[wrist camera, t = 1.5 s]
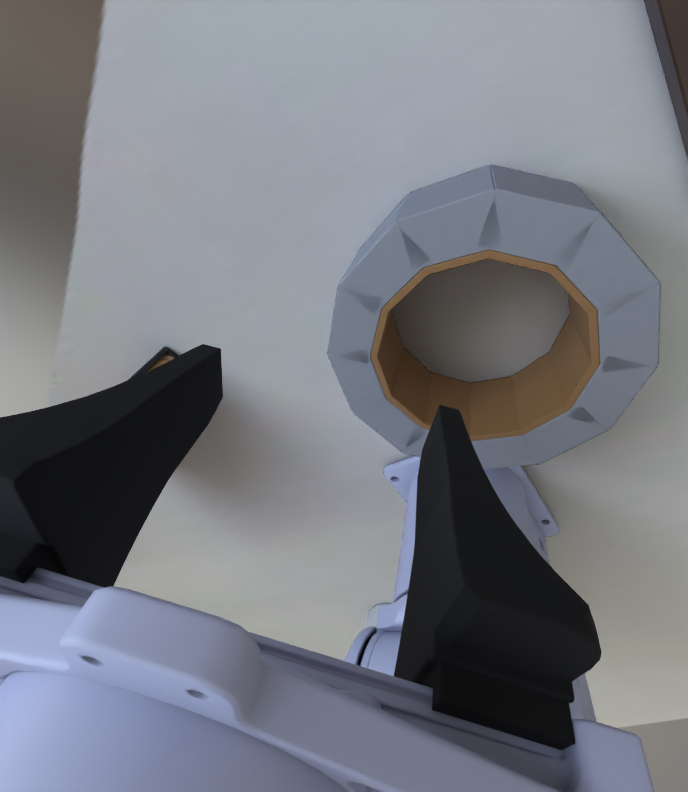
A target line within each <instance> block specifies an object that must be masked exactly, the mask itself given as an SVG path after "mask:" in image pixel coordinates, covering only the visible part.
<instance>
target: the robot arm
mask: <svg viewBox="0 0 688 792" xmlns="http://www.w3.org/2000/svg"><path fill="white" fill-rule="evenodd" d="M222 397H223V390H222V368H221V349H220V348H216V347H212V346H208V345H204V344H202V345H200V346H198V347H196V348H194V349H192V350H190V351H188V352H186V353H184V354H182V355H180V356H178V357H176V358H174V359H172V360H170V361H168V362H166V363H164V364H162V365H160V366H158V367H156V368H154V369H152V370H150V371H148V372H146V373H143V374H141V375H139V376H137V377H134V378H132V379H130V380H128V381H125V382H123V383H121V384H119V385H116V386H114V387H111V388H108V389H106V390H103V391H100V392H97V393H95V394H92V395H89V396H86V397H83V398H80V399H76V400H73V401H69V402H66V403H62V404H58V405H55V406H51V407H48V408H44V409H39V410H35V411H31V412H26V413H22V414H17V415H12V416H7V417H1V418H0V792H654V788H653V784H652V781H651V777H650V773H649V769H648V765H647V761H646V758H645V753H644V749H643V746H642V742H641V738H640V737H638V736H637V735H636V734H634V733H631V732H628V731H625V730H621V729H618V728H615V727H611V726H608V725H605V724H602V723H598V722H596V718H595V713H594V709H593V704H592V700H591V696H590V692H589V688H588V684H587V680H586V676H585V672H587V671H588V670H590V669H591V668H592V667H593V666H594V665H595V664H596V663H597V662H598V661H599V660H600V657H601V648H600V644H599V639H598V635H597V631H596V627H595V623H594V621H593V618H592V615H591V612H590V609H589V605H588V604H587V603H586V602H585V601H584V600H583V599H582V598H581V597H580V596H579V595H578V594H577V593H576V592H575V591H574V590H573V589H572V588H571V587H570V586H569V585H568V584H567V583H566V582H565V581H564V580H563V579H562V578H561V577H560V576H559V575H558V574H557V573H556V572H555V571H554V570H553V568H552V567H551V566H550V565H549V560H548V554H547V548H546V542H545V537H550V536H555V535H557V534H558V533H559V532H560V530H559V526H558V524H557V522H556V521H555V519H554V518H553V516H552V514H551V513H550V511H549V509H548V508H547V506H546V505H545V503H544V501H543V500H542V498H541V497H540V495H539V493H538V492H537V490H536V488H535V487H534V485H533V484H532V482H531V480H530V479H529V477H528V476H527V474H526V472H525V471H524V469H523V467H522V466H515V467H503V468H492V469H483V467H482V465H481V463H480V460H479V458H478V456H477V454H476V452H475V449H474V447H473V444H472V442H471V440H470V437H469V434H468V432H467V429H466V426H465V424H464V421H463V418H462V415H461V412H460V411H459V410H458V409H455V408H451V407H447V406H443V405H439V407H438V410H437V412H436V415H435V418H434V420H433V423H432V425H431V428H430V430H429V433H428V436H427V438H426V441H425V443H424V446H423V449H422V453H421V458H420V457H417V456H415V457H412V458H409V459H406V460H402V461H399V462H396V463H393V464H390V465H387V466H385V468H384V473H383V474H384V476H385V477H386V478H387V479H388V481H389V482H390V483H391V484H392V485H393V487H394V488H395V489H396V490H397V492H398V493H399V494H400V495H401V496H402V498H403V499H404V500H405V501H406V503H407V507H406V514H405V521H404V528H403V535H402V543H401V550H400V557H399V564H398V571H397V578H396V585H395V593H394V600H393V603H390V604H383V605H380V608H379V614H378V620H377V626H370V627H368V628H365V629H363V630H362V631H361V632H360V633H359V634H358V636H357V637H356V638H355V640H354V642H353V644H352V645H351V647H350V650H349V651H348V653H347V655H346V658H345V660H344V661H342V660H339V659H335V658H332V657H329V656H326V655H322V654H319V653H316V652H313V651H309V650H306V649H303V648H300V647H296V646H293V645H290V644H286V643H283V642H280V641H277V640H273V639H270V638H267V637H264V636H260V635H257V634H254V633H251V632H248V631H246V630H245V629H244V628H242V627H241V626H240V625H237V624H235V623H233V622H230V621H228V620H226V619H223V618H221V617H218V616H215V615H211V614H208V613H205V612H202V611H198V610H195V609H192V608H188V607H185V606H182V605H179V604H175V603H172V602H169V601H166V600H162V599H159V598H156V597H152V596H149V595H146V594H143V593H139V592H136V591H133V590H129V589H125V588H119V587H113V586H114V583H115V581H116V579H117V577H118V575H119V573H120V570H121V568H122V566H123V564H124V562H125V560H126V558H127V556H128V554H129V552H130V550H131V548H132V546H133V544H134V542H135V540H136V538H137V536H138V534H139V532H140V530H141V528H142V526H143V524H144V522H145V520H146V519H147V517H148V515H149V513H150V511H151V509H152V507H153V506H154V504H155V502H156V500H157V499H158V497H159V495H160V493H161V492H162V490H163V488H164V486H165V485H166V483H167V481H168V480H169V478H170V477H171V475H172V474H173V472H174V471H175V469H176V468H177V467H178V465H179V464H180V462H181V461H182V460H183V458H184V457H185V456H186V454H187V453H188V451H189V450H190V449H191V447H192V446H193V445H194V443H195V442H196V440H197V439H198V438H199V436H200V435H201V433H202V432H203V431H204V429H205V428H206V426H207V425H208V424H209V422H210V420H211V419H212V417H213V415H214V413H215V411H216V409H217V407H218V405H219V403H220V401H221V399H222ZM393 476H395V477H397V478H395V477H393ZM545 519H546V520H545Z"/></svg>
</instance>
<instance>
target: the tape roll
mask: <svg viewBox="0 0 688 792" xmlns="http://www.w3.org/2000/svg"><path fill="white" fill-rule="evenodd" d="M485 259H492V260H496V261H501V262H505V263H509V264H513V265H517V266H522V267H526V268H530V269H534V270H538V271H542V272H547V273H550V274H551V275H552V276H553V277H554V279H555V280H556V281H557V282H558V283H559V284H560V285H561V286H562V287H563V288H564V289H565V290H566V291H567V292H568V296H569V307H570V315H569V317H568V318H567V320H566V322H565V324H564V326H563V328H562V329H561V331H560V333H559V335H558V337H557V338H556V340H555V342H554V344H553V346H552V348H551V349H550V351H549V352H548V353H547V354H545V355H544V356H542V357H541V358H539V359H538V360H536V361H535V362H533V363H531V364H530V365H528V366H527V367H525V368H524V369H522V370H521V371H519V372H518V373H516V374H515V375H513V376H510V377H504V378H498V379H492V380H486V381H479V382H473V383H468V382H464V381H461V380H457V379H453V378H449V377H445V376H442V375H438V374H434V373H431V372H430V371H429V370H428V369H427V368H425V367H424V366H423V365H422V364H421V363H420V362H419V361H418V360H416V359H415V358H414V357H413V356H412V355H411V354H410V353H408V352H407V351H406V350H405V349H404V348H403V346H402V343H401V340H400V337H399V334H398V330H397V327H396V324H395V321H394V318H393V315H392V308H394V307H395V306H396V305H397V304H398V303H399V302H400V301H401V300H402V299H403V298H404V297H405V296H406V295H407V294H408V293H409V292H410V291H411V290H412V289H413V288H415V287H416V286H417V285H418V284H419V283H420V282H421V281H422V280H423V279H424V278H425V277H426V276H427V275H429V274H432V273H436V272H440V271H444V270H447V269H451V268H455V267H459V266H462V265H466V264H470V263H474V262H477V261H481V260H485ZM660 297H661V284H660V281H659V280H658V278H657V277H656V276H655V275H654V274H653V273H652V271H651V270H650V269H649V268H648V267H647V266H646V264H645V263H644V262H643V261H642V260H641V259H640V257H639V256H638V255H637V254H636V253H635V251H634V250H633V249H632V248H631V247H630V246H629V244H628V243H627V242H626V241H625V240H624V239H623V237H622V236H621V235H620V234H619V233H618V232H617V230H616V229H615V228H614V227H613V226H612V224H611V223H610V222H609V221H608V220H607V219H606V217H605V216H604V215H603V214H602V213H601V212H600V211H599V210H598V208H597V207H596V206H595V205H594V204H593V203H592V202H591V201H590V200H589V199H588V198H587V197H586V196H585V194H584V193H583V192H582V191H581V190H580V189H579V188H578V187H577V186H576V185H575V184H573V183H571V182H567V181H562V180H558V179H553V178H549V177H544V176H540V175H535V174H531V173H526V172H522V171H517V170H513V169H508V168H504V167H499V166H495V165H490V166H489V165H487V166H484V167H482V168H479V169H476V170H473V171H470V172H467V173H464V174H461V175H458V176H456V177H453V178H450V179H447V180H444V181H441V182H438V183H435V184H432V185H430V186H427V187H424V188H421V189H418V190H415V191H412V192H410V193H409V194H407V195H406V197H405V198H404V199H403V200H402V201H401V202H400V203H399V205H398V206H397V207H396V208H395V209H394V210H393V211H392V213H391V214H390V215H389V216H388V217H387V218H386V219H385V221H384V222H383V223H382V224H381V225H380V226H379V227H378V229H377V230H376V231H375V232H374V233H373V234H372V235H371V237H370V238H369V239H368V240H367V241H366V242H365V243H364V245H363V246H362V247H361V248H360V250H359V251H358V253H357V255H356V256H355V258H354V260H353V261H352V263H351V265H350V266H349V268H348V270H347V271H346V273H345V275H344V276H343V278H342V280H341V281H340V283H339V285H338V287H337V294H336V300H335V306H334V312H333V319H332V325H331V331H330V338H329V344H328V350H327V354H328V357H329V360H330V362H331V364H332V367H333V369H334V371H335V374H336V376H337V378H338V380H339V383H340V385H341V387H342V390H343V392H344V394H345V397H346V399H347V401H348V404H349V406H350V408H351V410H352V412H353V413H354V414H355V415H356V416H357V417H359V418H360V419H361V420H362V421H364V422H365V423H366V424H367V425H369V426H370V427H371V428H372V429H374V430H375V431H376V432H377V433H379V434H380V435H381V436H382V437H384V438H385V439H386V440H387V441H389V442H390V443H391V444H392V445H394V446H395V447H396V448H397V449H399V450H400V451H402V452H403V453H406V454H409V455H413V456H417V457H420V458H421V453H422V449H423V446H424V443H425V441H426V438H427V436H428V433H429V430H430V428H431V425H432V423H433V420H434V418H435V415H436V412H437V410H438V407H439V405H443V406H447V407H451V408H455V409H458V410H459V411H460V412H461V415H462V418H463V421H464V424H465V426H466V429H467V432H468V434H469V437H470V440H471V442H472V444H473V447H474V449H475V452H476V454H477V456H478V458H479V460H480V463H481V465H482V467H483V469H492V468H503V467H515V466H526V465H538V464H539V463H543V462H545V461H547V460H549V459H551V458H553V457H555V456H557V455H559V454H561V453H563V452H565V451H567V450H569V449H571V448H573V447H575V446H577V445H579V444H581V443H583V442H586V441H588V440H590V439H592V438H594V437H596V436H598V435H600V434H602V433H604V432H606V431H607V430H608V429H610V428H611V427H612V426H613V425H614V423H615V422H616V421H617V419H618V418H619V417H620V415H621V414H622V413H623V412H624V410H625V409H626V408H627V406H628V405H629V404H630V402H631V401H632V400H633V398H634V397H635V396H636V394H637V393H638V392H639V391H640V389H641V388H642V387H643V385H644V384H645V383H646V381H647V380H648V379H649V377H650V376H651V375H652V374H653V372H654V371H655V370H656V368H657V365H658V364H659V332H660Z"/></svg>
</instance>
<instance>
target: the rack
mask: <svg viewBox="0 0 688 792" xmlns="http://www.w3.org/2000/svg"><path fill="white" fill-rule="evenodd" d="M644 2H645V6H646V9H647V13H648V16H649V20H650V24H651V27H652V31H653V35H654V38H655V42H656V45H657V49H658V53H659V56H660V60H661V64H662V67H663V71H664V74H665V78H666V82H667V85H668V89H669V93H670V96H671V100H672V104H673V107H674V111H675V114H676V118H677V122H678V125H679V129H680V133H681V136H682V140H683V143H684V147H685V151H686V154H687V158H688V0H644Z"/></svg>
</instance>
